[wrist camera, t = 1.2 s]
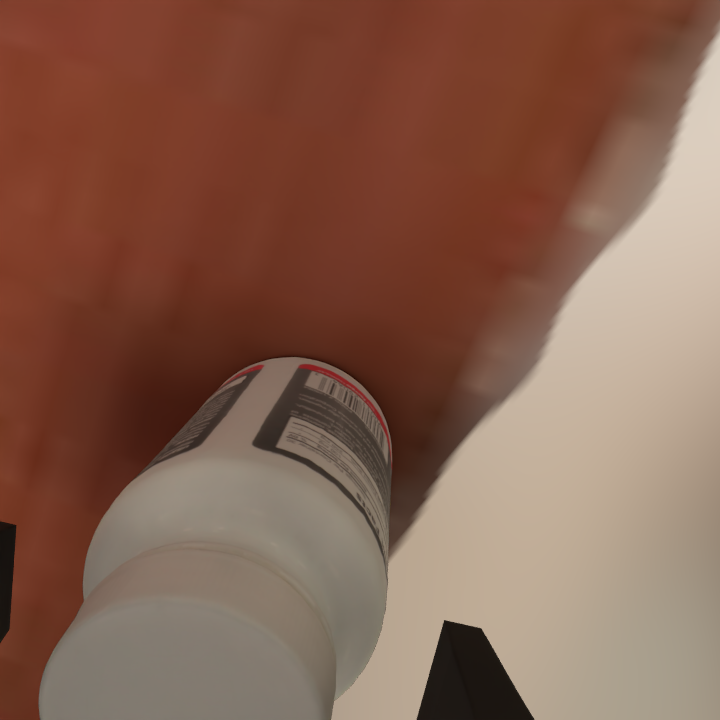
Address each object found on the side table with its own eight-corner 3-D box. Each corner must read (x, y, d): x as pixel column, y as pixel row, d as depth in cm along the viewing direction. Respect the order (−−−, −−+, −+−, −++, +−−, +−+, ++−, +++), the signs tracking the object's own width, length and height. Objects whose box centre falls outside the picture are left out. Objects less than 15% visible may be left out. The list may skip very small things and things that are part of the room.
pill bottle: (222, 542, 19) (41, 889, 10) (183, 366, 18) (-73, 568, 8) (406, 523, 18) (406, 874, 9) (379, 340, 17) (345, 526, 8)
